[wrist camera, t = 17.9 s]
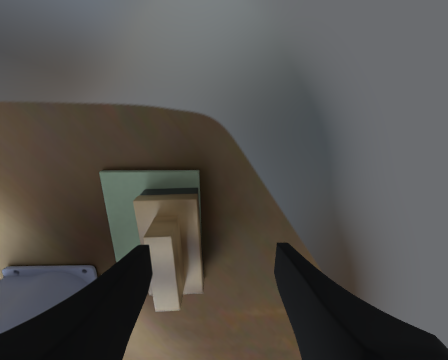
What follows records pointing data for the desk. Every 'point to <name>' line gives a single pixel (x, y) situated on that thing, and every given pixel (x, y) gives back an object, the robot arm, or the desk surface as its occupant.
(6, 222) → the desk surface
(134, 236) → the pad
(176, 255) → the brush
